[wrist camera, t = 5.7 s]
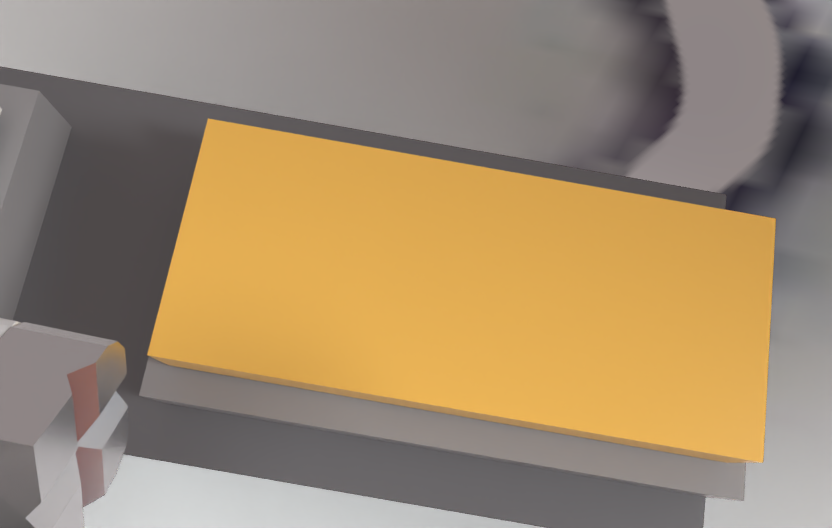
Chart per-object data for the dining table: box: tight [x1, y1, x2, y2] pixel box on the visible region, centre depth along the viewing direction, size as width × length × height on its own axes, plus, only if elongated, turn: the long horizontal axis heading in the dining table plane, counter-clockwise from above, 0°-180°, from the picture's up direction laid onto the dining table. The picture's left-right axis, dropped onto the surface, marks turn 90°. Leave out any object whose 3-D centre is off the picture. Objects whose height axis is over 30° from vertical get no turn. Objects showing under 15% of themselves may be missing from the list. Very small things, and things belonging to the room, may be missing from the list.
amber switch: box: [147, 119, 776, 463], centre depth 16 cm, size 12×5×2 cm, turn 80°
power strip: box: [0, 67, 746, 528], centre depth 21 cm, size 30×9×8 cm, turn 80°
